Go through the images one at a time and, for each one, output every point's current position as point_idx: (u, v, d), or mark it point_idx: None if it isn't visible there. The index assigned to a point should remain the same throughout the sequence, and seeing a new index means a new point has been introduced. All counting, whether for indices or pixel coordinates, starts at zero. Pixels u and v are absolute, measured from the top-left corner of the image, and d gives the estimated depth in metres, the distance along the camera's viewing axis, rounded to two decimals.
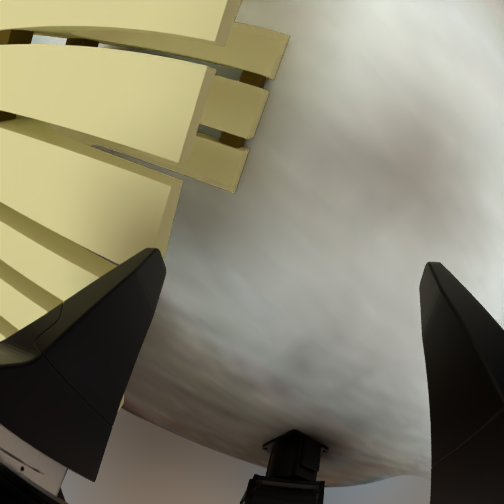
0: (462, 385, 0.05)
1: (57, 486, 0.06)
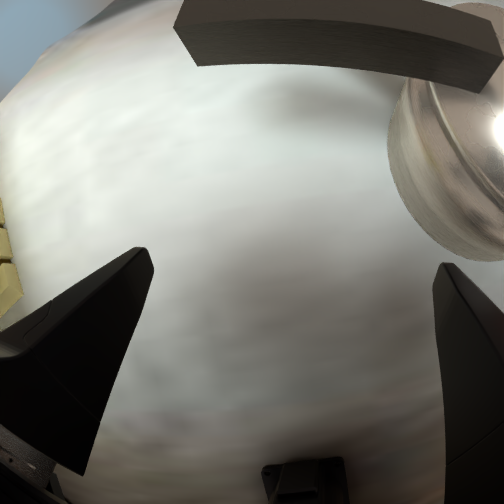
0: (478, 384, 0.05)
1: (46, 480, 0.06)
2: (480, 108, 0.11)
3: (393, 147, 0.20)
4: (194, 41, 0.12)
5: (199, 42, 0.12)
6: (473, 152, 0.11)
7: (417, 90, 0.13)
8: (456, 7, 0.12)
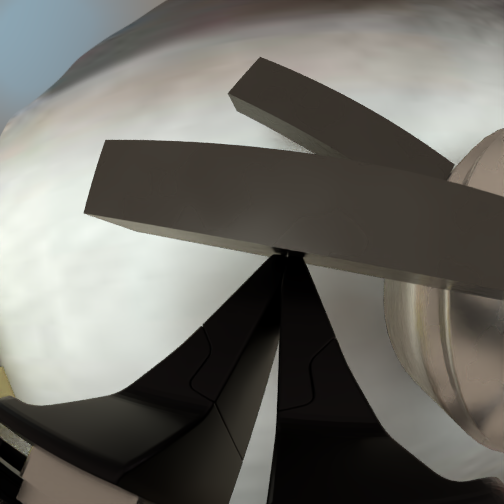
0: None
1: None
2: (500, 325, 0.09)
3: (389, 302, 0.18)
4: (119, 223, 0.10)
5: (125, 225, 0.10)
6: (467, 391, 0.09)
7: (425, 298, 0.11)
8: None
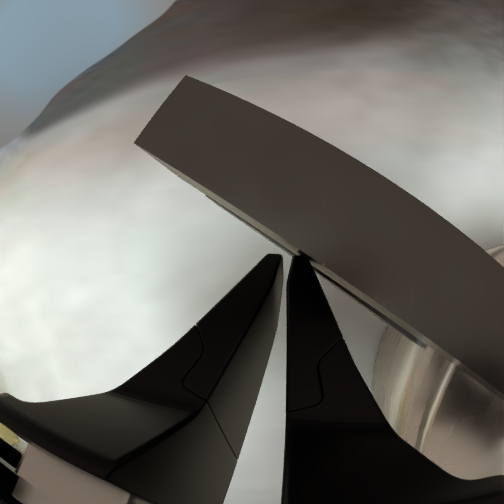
0: None
1: None
2: (483, 417, 0.08)
3: (377, 394, 0.17)
4: (167, 166, 0.09)
5: (172, 170, 0.09)
6: None
7: (404, 438, 0.10)
8: None
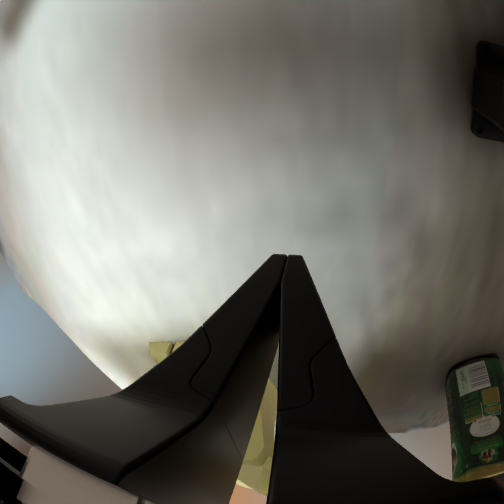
0: None
1: None
2: None
3: None
4: None
5: None
6: None
7: None
8: None
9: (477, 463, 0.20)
